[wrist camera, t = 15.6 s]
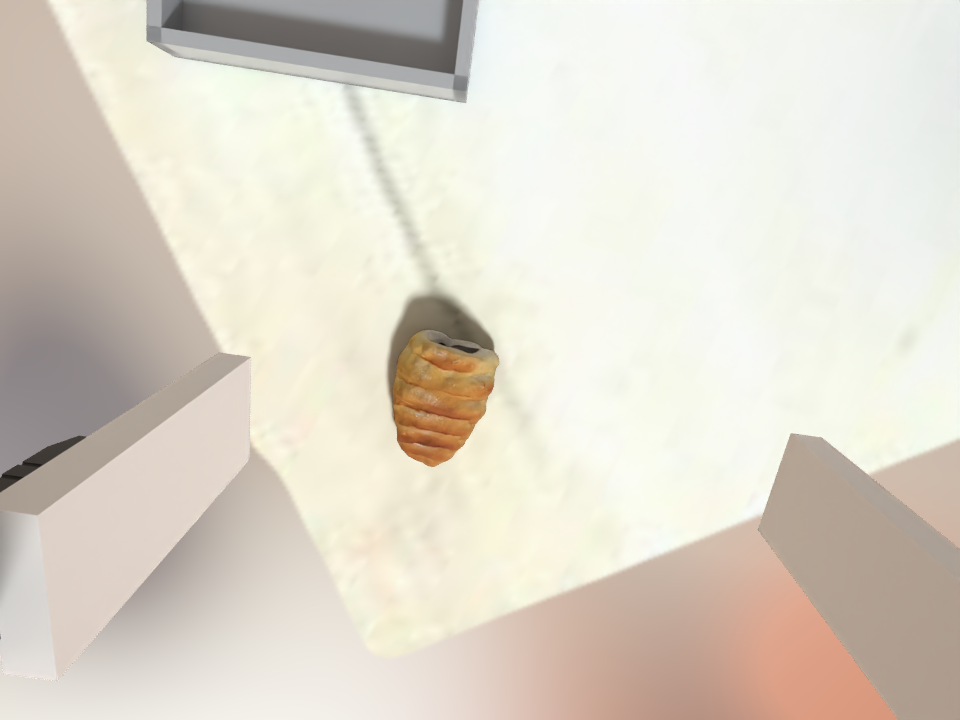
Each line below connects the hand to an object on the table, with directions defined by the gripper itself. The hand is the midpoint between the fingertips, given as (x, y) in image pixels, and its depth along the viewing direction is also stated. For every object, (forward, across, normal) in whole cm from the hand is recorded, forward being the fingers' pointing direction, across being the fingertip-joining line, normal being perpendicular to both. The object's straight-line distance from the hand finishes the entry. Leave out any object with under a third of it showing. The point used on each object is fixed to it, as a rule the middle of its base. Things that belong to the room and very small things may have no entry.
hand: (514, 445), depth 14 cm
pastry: (+26, -3, -9) cm, 27 cm away
